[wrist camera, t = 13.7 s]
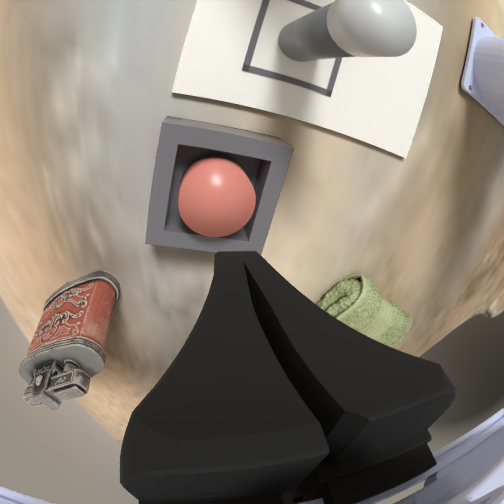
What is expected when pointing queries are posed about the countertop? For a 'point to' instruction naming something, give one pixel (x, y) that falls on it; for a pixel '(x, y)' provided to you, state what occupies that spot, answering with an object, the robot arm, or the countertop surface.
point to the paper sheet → (306, 72)
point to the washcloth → (366, 310)
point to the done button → (215, 196)
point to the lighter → (70, 340)
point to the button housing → (206, 143)
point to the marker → (351, 31)
